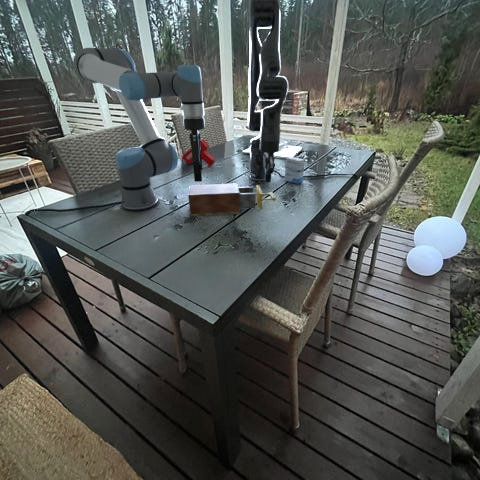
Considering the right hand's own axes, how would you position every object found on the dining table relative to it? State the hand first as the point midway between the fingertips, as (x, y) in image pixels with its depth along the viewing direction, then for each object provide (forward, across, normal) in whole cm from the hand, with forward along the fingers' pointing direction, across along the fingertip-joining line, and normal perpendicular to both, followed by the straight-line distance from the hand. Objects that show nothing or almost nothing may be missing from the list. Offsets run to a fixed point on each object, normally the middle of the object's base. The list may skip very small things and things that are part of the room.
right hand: (267, 181), depth 112 cm
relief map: (+11, -88, +22) cm, 92 cm away
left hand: (-4, 0, -28) cm, 28 cm away
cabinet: (+11, 0, -22) cm, 25 cm away
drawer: (+10, 0, -9) cm, 14 cm away
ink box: (+11, -28, +20) cm, 36 cm away
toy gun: (+11, -64, -31) cm, 72 cm away
